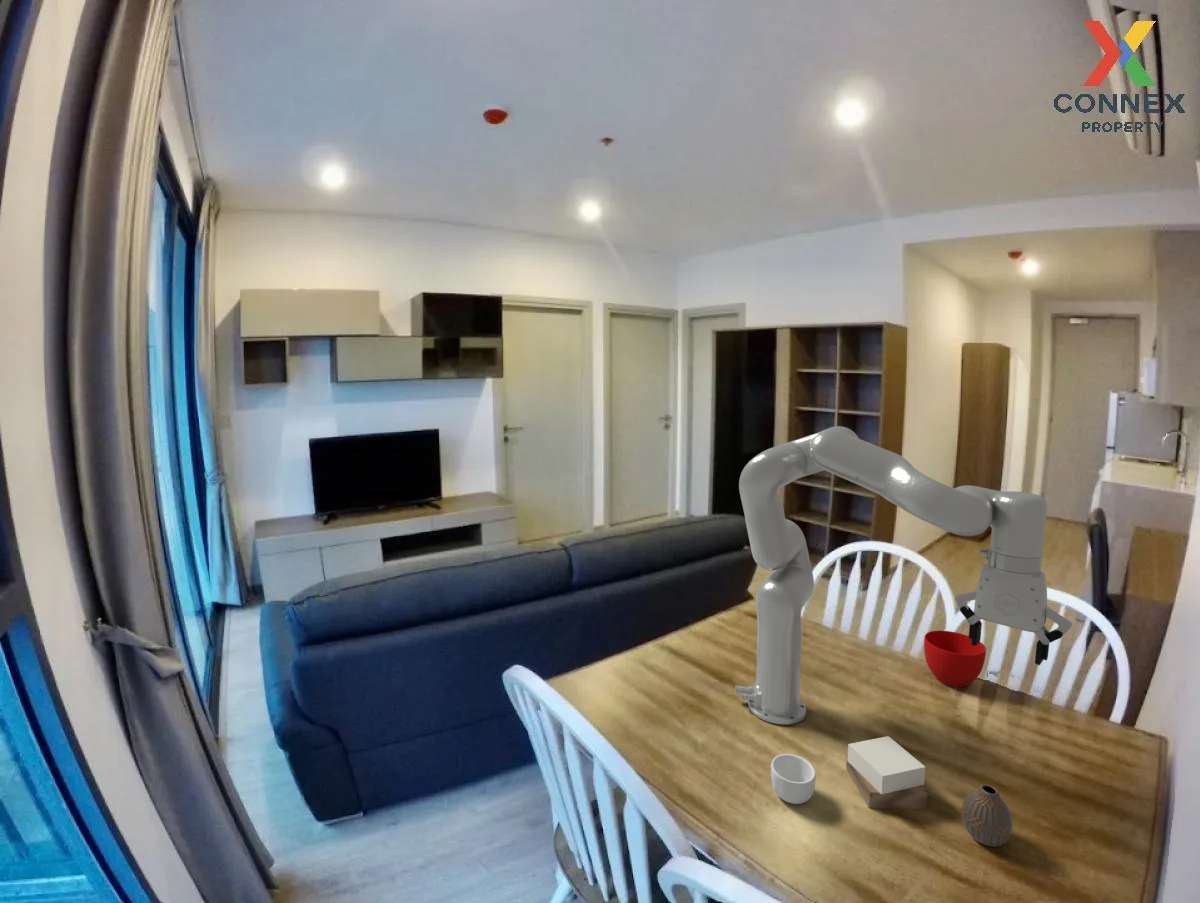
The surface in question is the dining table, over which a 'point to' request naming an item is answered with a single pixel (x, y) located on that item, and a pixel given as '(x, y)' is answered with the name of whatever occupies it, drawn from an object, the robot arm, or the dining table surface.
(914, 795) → the base block
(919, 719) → the dining table surface
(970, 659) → the red rounded bowl
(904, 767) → the top block
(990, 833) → the vase
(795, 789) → the teacup
